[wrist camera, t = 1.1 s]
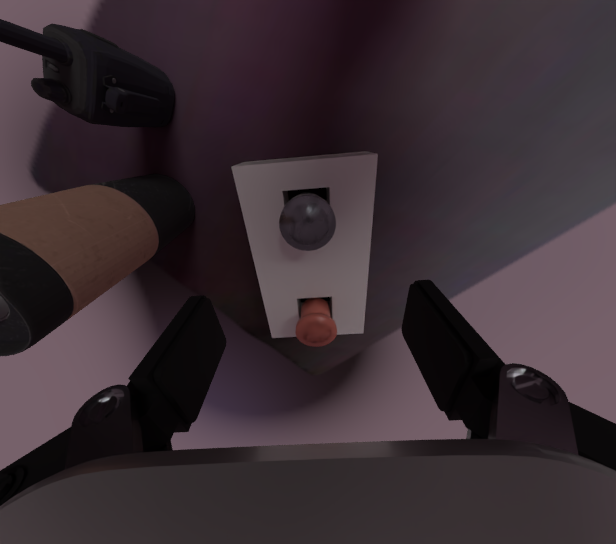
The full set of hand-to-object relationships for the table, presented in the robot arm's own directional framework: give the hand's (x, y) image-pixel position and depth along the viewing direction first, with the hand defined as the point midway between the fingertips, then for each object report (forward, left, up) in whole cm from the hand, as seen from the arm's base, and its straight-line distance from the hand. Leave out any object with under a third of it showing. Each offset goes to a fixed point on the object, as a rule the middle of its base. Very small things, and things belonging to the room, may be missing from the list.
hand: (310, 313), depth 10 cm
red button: (+14, 0, -16) cm, 21 cm away
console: (+7, 0, -21) cm, 22 cm away
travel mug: (-1, -18, -21) cm, 28 cm away
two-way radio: (-11, -14, -21) cm, 27 cm away
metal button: (0, 0, -16) cm, 16 cm away
